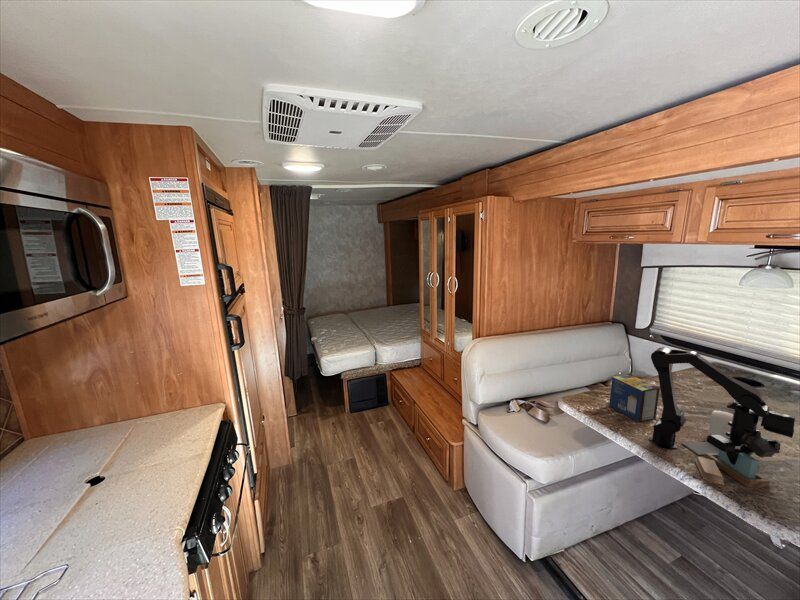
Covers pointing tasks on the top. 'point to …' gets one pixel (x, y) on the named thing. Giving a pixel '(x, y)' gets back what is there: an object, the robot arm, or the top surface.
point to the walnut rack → (756, 482)
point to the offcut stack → (709, 470)
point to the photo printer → (720, 423)
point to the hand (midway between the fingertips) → (736, 463)
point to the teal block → (741, 464)
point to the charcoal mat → (701, 448)
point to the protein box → (634, 397)
